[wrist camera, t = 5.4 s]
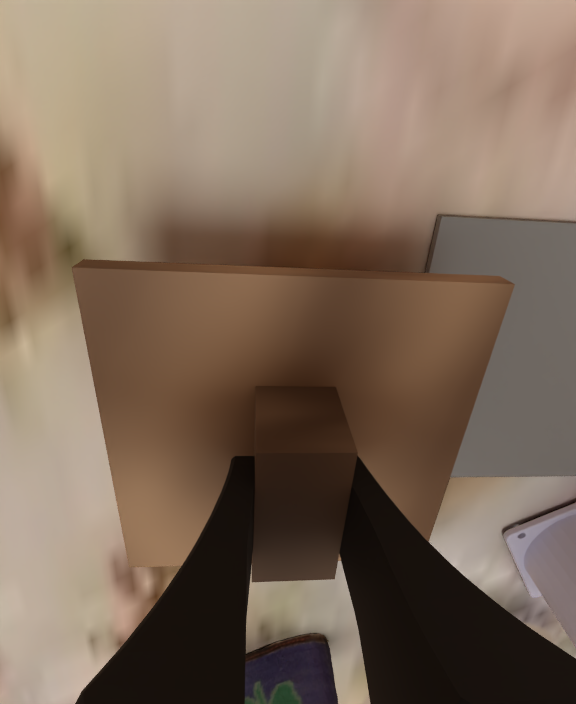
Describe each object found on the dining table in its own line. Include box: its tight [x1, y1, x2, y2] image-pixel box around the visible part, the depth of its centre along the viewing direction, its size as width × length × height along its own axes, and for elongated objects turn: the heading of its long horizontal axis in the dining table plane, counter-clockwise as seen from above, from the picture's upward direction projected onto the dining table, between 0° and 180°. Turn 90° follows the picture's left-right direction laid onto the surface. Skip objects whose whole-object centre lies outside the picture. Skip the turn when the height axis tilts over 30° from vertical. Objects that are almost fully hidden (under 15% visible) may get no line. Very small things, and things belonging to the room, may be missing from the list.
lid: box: [72, 259, 515, 582], centre depth 13 cm, size 12×12×4 cm
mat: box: [425, 215, 576, 477], centre depth 20 cm, size 14×14×1 cm
